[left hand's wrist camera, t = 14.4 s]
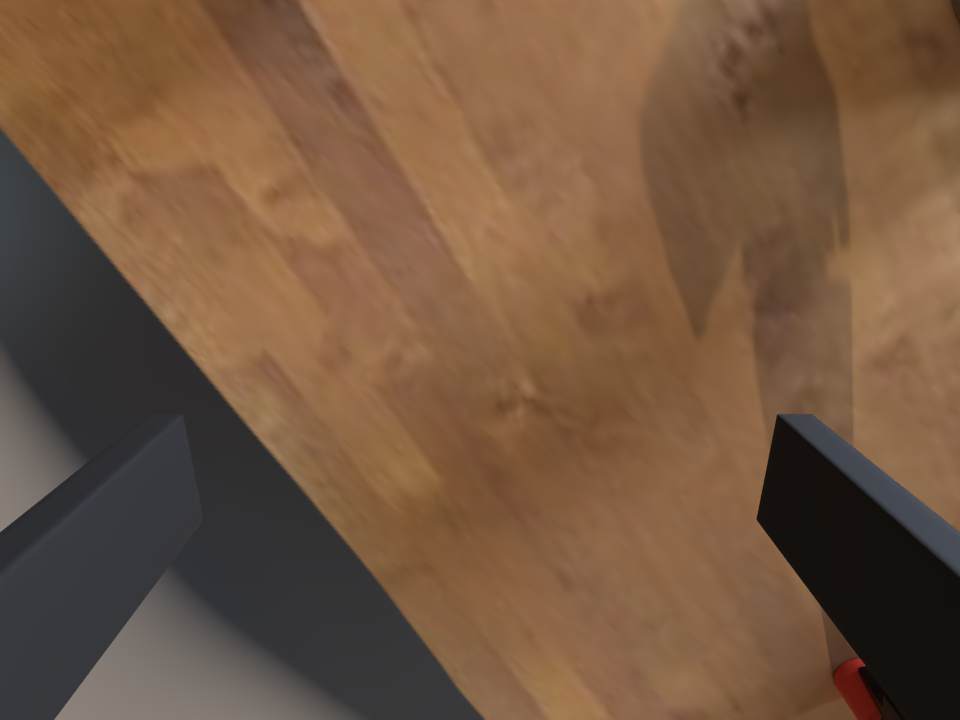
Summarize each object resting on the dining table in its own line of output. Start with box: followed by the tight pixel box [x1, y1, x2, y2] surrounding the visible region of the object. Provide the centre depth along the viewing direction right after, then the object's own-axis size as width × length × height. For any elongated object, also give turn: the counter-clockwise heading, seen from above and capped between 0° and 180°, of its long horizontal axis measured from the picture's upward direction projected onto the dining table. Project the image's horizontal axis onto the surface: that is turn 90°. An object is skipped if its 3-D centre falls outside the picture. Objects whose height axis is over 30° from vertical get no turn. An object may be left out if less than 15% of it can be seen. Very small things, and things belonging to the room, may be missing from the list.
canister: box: [833, 658, 881, 720], centre depth 50 cm, size 4×4×5 cm
